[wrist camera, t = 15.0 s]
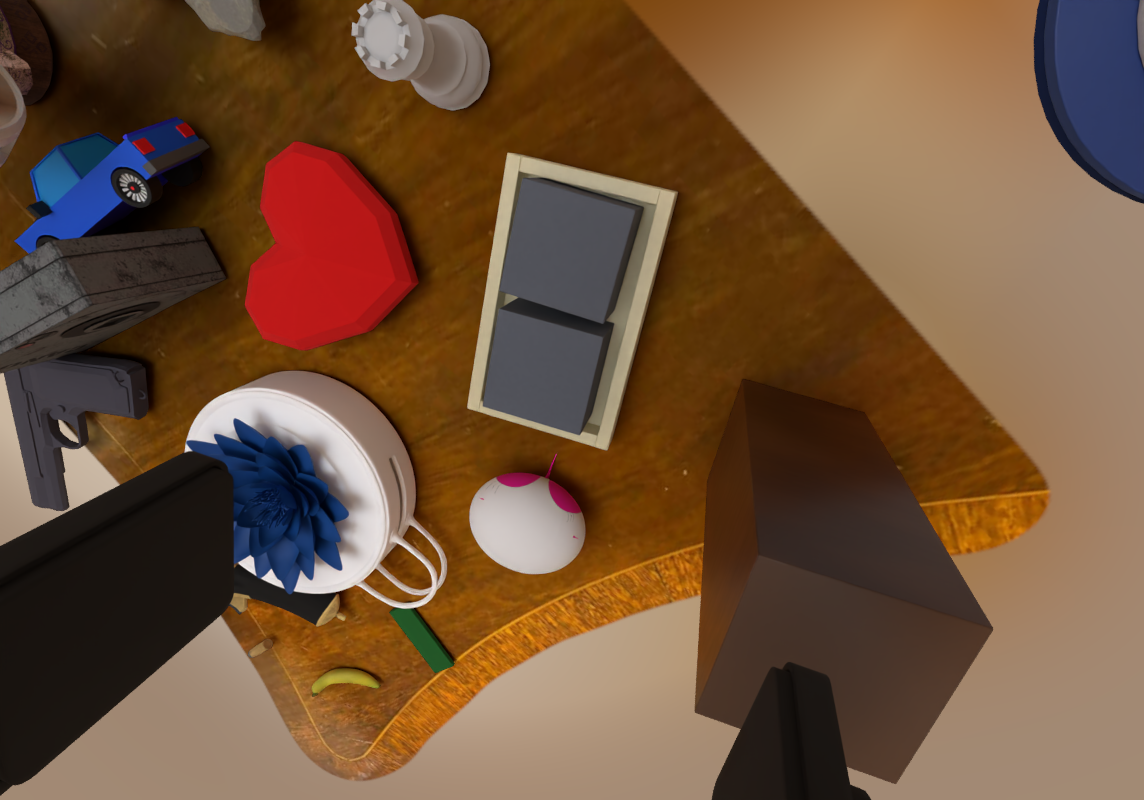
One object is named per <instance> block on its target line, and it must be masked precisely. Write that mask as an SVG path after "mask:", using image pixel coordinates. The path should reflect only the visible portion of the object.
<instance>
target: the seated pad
mask: <svg viewBox="0 0 1144 800" xmlns="http://www.w3.org/2000/svg"><path fill="white" fill-rule="evenodd" d="M613 327H614V323H612V322H608V321H605V322H604V324H602V323H598V322H595V321H592V320H589V319H586V318H583V317H579V316H576V315H573V314H570V313H567V312H564V311H560V310H557V309H554V308H551V307H548V306H545V305H541V304H538V303H535V302H532V301H529V300H526V299H522V298H519V297H518V298H517V299H515V300H513V301H511V302H510V303H508V304H506V305H505V306H503V307H501V308H499V311H498V317H497V323H496V329H495V335H494V341H493V347H492V353H491V359H490V364H489V370H488V376H487V382H486V388H485V394H484V400H483V407H486V408H489V409H493V410H496V411H499V412H503V413H506V414H509V415H513V416H516V417H519V418H523V419H526V420H529V421H533V422H536V423H539V424H543V425H546V426H549V427H553V428H556V429H559V430H563V431H566V432H569V433H573V434H576V435H580V434H581V433H582V431H583V429H584V427H585V425H586V424H587V422H588V420H589V418H590V416H591V415H592V412H593V408H594V404H595V400H596V396H597V392H598V388H599V384H600V380H601V376H602V372H603V368H604V364H605V360H606V356H607V351H608V347H609V343H610V339H611V335H612V331H613Z"/></svg>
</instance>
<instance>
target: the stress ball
mask: <svg viewBox="0 0 1144 800" xmlns="http://www.w3.org/2000/svg"><path fill="white" fill-rule="evenodd" d="M556 454H557V453H556ZM555 457H556V455H555ZM555 457H554V460H555ZM554 460H553V462H552V464H551V466H550V468H549V470H548V473H547V475H546V477H542V476H539V475H535V474H530V473H508V474H504V475H500V476H498V477H495V478H493V479H491V480H490V481H488V482H487V483H486V484H484V485H483V486H482V487H481V488H480V489H479V490H478V492H477V493H476V495H475V497H474V498H473V501H472V504H471V507H470V516H469V517H470V525H471V529H472V532H473V535H474V537H475V539H476V541H477V543H478V544H479V546H480V547H481V548H482V549H483V551H484V552H485V553H486V554H487V555H488V556H489V557H491V558H492V559H493V560H494V561H496V562H497V563H499V564H501V565H502V566H504V567H506V568H509V569H511V570H514V571H517V572H521V573H527V574H544V573H550V572H553V571H556V570H559V569H561V568H563V567H565V566H566V565H568V564H569V563H570V562H571V561H573V559H574V558H575V557H576V556H577V555H578V553H579V552H580V550H581V548H582V546H583V543H584V540H585V521H584V517H583V514H582V512H581V509H580V507H579V506H578V504H577V503H576V501H575V500H574V498H573V497H572V496H571V495H570V494H569V493H568V492H567V491H566V490H565V489H564V488H562V487H561V486H560V485H558V484H557V483H555V482H553V481H551V480H549V476H550V473H551V469H552V466H553V463H554Z"/></svg>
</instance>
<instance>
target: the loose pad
mask: <svg viewBox="0 0 1144 800" xmlns="http://www.w3.org/2000/svg"><path fill="white" fill-rule="evenodd" d="M643 210H644V207H643V206H640V205H636V204H633V203H629V202H626V201H622V200H619V199H615V198H612V197H608V196H605V195H601V194H598V193H594V192H591V191H587V190H584V189H580V188H577V187H574V186H570V185H567V184H563V183H560V182H556V181H553V180H549V179H546V178H523V179H522V183H521V188H520V193H519V197H518V202H517V207H516V212H515V217H514V221H513V226H512V231H511V236H510V241H509V245H508V250H507V255H506V260H505V265H504V269H503V274H502V279H501V284H500V289H499V291H500V292H503V293H507V294H510V295H513V296H516V297H519V298H522V299H526V300H529V301H532V302H535V303H538V304H541V305H545V306H548V307H551V308H554V309H557V310H560V311H564V312H567V313H570V314H573V315H576V316H579V317H583V318H586V319H589V320H592V321H595V322H598V323H602V324H604V322H605V321H606V320H607V319H608V318H609V316H610V315H611V314H612V313H613V311H614V310H615V307H616V304H617V300H618V297H619V293H620V290H621V286H622V283H623V280H624V276H625V273H626V269H627V266H628V262H629V259H630V255H631V252H632V248H633V245H634V241H635V238H636V235H637V231H638V228H639V224H640V221H641V217H642V214H643Z"/></svg>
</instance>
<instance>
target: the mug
mask: <svg viewBox="0 0 1144 800" xmlns="http://www.w3.org/2000/svg"><path fill="white" fill-rule="evenodd" d="M0 64H1V65H2V66H3V67H4V68H5V70H6V71H7V72H8V73H9V74H10V76H11V77H12V78H13V80H14V81H15V83H16V84H17V86H18V87H19V89H20V92H21V94H22V97H23V101H24V104H25V105H31V104H33V103H34V102H36V101H38V100H40V99H41V98H42V96H43V95H44V93H45V92H46V90H47V89H48V87H49V85H50V82H51V77H52V73H53V53H52V49H51V45H50V41H49V38H48V34H47V32H46V30H45V28H44V26H43V24H42V22H41V20H40V18H39V17H38V15H37V13H36V12H35V11H34V10H33V8H32V7H31V6H30V4H29V3H28V2H27V1H26V0H0Z"/></svg>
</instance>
